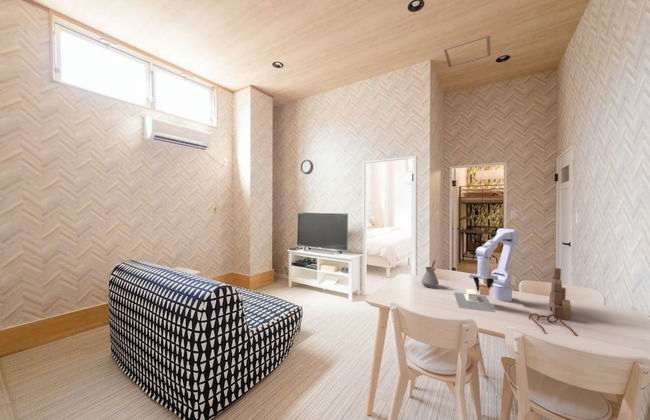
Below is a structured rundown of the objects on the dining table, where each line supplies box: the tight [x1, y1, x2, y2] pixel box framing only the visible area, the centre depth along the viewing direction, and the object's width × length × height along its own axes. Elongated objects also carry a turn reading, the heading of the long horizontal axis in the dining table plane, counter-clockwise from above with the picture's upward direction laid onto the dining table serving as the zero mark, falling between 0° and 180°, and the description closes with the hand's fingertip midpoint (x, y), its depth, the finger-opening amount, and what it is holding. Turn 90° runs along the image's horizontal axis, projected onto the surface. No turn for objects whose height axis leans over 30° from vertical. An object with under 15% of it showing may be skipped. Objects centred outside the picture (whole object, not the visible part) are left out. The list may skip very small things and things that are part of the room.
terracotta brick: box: [477, 282, 490, 297], centre depth 152 cm, size 4×8×4 cm, turn 161°
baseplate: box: [453, 292, 496, 313], centre depth 157 cm, size 18×24×1 cm
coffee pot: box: [421, 259, 440, 288], centre depth 190 cm, size 21×12×15 cm, turn 146°
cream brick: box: [465, 288, 478, 301], centre depth 162 cm, size 4×8×4 cm, turn 159°
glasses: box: [528, 312, 578, 337], centre depth 127 cm, size 13×13×5 cm
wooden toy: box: [548, 267, 572, 321], centre depth 141 cm, size 16×7×25 cm, turn 148°
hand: (482, 290), depth 152 cm, fingers closed on terracotta brick, 4 cm apart
